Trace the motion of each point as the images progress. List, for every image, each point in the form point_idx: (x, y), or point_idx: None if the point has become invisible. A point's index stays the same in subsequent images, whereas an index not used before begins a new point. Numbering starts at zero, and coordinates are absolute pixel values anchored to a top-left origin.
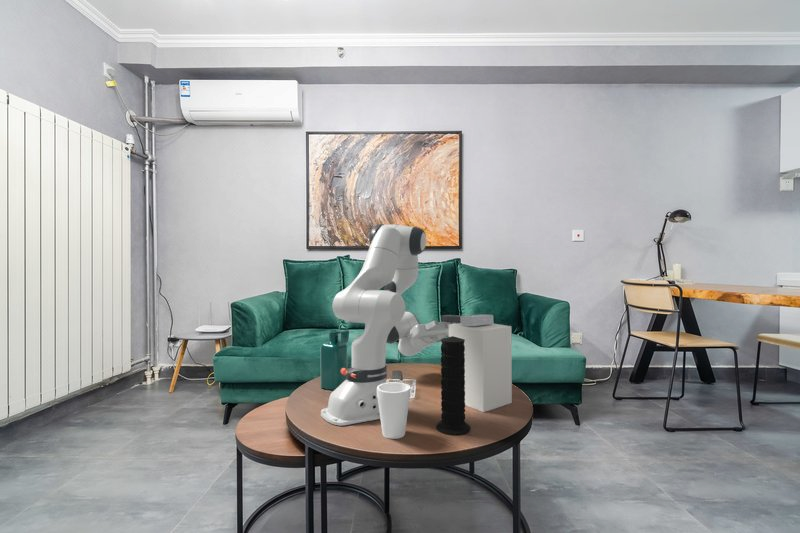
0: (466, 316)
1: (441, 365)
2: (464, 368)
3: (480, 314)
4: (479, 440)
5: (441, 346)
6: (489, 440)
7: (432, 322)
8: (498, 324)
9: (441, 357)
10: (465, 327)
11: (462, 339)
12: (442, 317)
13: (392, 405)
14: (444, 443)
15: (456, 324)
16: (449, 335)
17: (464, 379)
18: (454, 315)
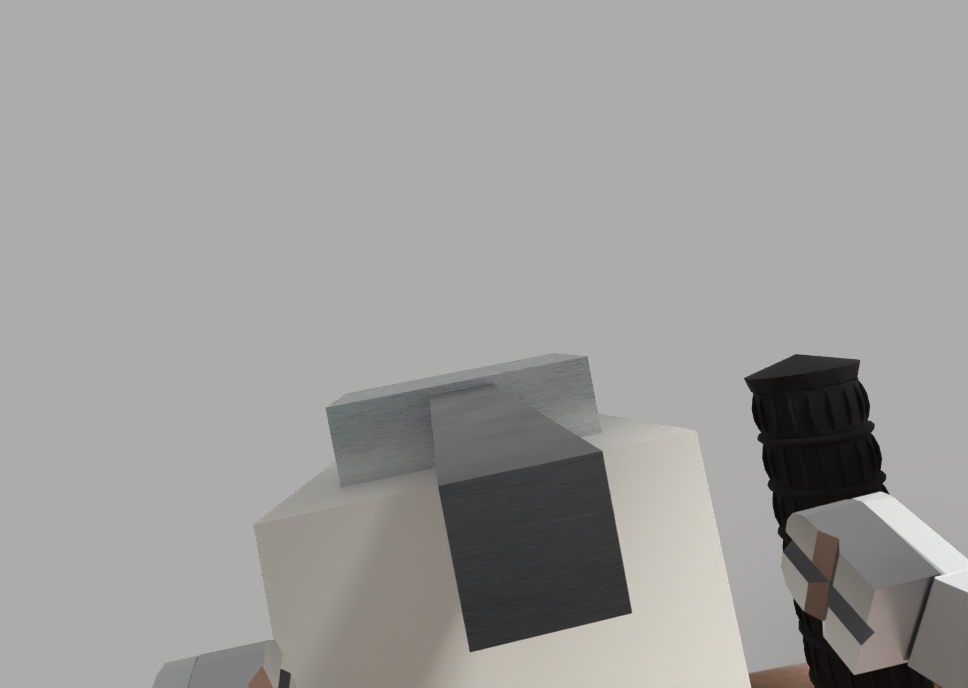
0: (542, 361)
1: (883, 472)
2: (773, 494)
3: (332, 405)
4: (792, 682)
5: (863, 391)
6: (756, 679)
7: (922, 544)
8: (324, 471)
9: (874, 440)
10: (615, 417)
11: (756, 372)
12: (600, 489)
13: None
14: (933, 682)
15: (612, 440)
16: (714, 543)
17: (783, 540)
18: (446, 429)
